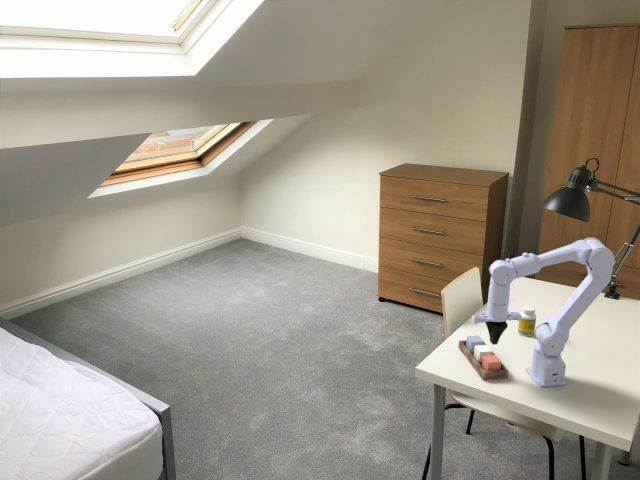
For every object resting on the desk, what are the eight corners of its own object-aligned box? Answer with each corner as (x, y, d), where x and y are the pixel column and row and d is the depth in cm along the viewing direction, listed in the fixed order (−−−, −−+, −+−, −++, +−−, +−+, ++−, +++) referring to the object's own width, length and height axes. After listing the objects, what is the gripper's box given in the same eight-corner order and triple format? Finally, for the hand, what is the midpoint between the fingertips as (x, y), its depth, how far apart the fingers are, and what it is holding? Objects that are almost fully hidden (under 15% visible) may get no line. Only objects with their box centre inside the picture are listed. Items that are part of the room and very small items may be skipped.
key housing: (508, 378, 158) (508, 371, 157) (483, 380, 157) (483, 373, 156) (480, 345, 176) (481, 339, 175) (458, 347, 175) (459, 340, 174)
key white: (491, 361, 164) (492, 351, 163) (478, 362, 164) (479, 352, 163) (485, 354, 168) (486, 344, 167) (473, 355, 168) (474, 345, 167)
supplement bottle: (524, 328, 188) (527, 303, 185) (537, 334, 184) (540, 308, 181) (514, 332, 185) (517, 307, 182) (527, 338, 181) (530, 312, 178)
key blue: (482, 351, 170) (483, 341, 169) (470, 351, 170) (471, 342, 169) (477, 344, 174) (478, 335, 173) (466, 345, 174) (466, 336, 173)
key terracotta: (500, 372, 159) (501, 361, 158) (487, 373, 158) (488, 362, 157) (494, 364, 162) (495, 354, 161) (481, 365, 162) (482, 355, 161)
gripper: (515, 294, 159) (510, 334, 163) (468, 297, 157) (465, 338, 161) (526, 304, 152) (521, 346, 156) (478, 307, 150) (474, 349, 154)
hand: (493, 342), depth 158 cm, fingers closed
